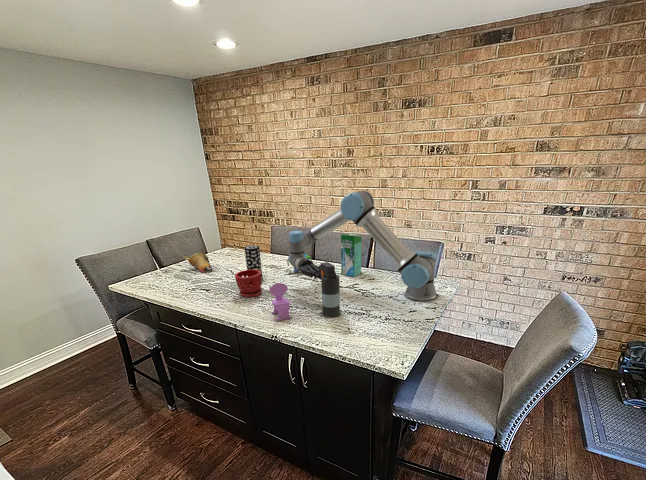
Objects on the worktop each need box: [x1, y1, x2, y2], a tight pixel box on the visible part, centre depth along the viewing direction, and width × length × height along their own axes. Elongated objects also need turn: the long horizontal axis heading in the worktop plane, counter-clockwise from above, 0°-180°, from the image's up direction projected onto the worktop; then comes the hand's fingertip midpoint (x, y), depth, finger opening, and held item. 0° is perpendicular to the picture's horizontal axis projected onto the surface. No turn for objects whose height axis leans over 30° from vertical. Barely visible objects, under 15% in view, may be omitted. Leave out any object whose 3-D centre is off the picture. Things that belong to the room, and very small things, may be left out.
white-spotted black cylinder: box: [243, 245, 264, 282], centre depth 195 cm, size 8×8×20 cm
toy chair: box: [268, 282, 292, 321], centre depth 151 cm, size 8×9×15 cm
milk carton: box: [340, 232, 362, 277], centre depth 204 cm, size 9×9×25 cm
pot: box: [182, 251, 213, 273], centre depth 219 cm, size 17×11×18 cm
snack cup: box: [286, 253, 313, 273], centre depth 213 cm, size 16×10×10 cm
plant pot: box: [234, 269, 263, 298], centre depth 177 cm, size 13×13×12 cm
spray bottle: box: [320, 261, 341, 318], centre depth 152 cm, size 11×8×23 cm
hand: (324, 278), depth 154 cm, fingers closed
